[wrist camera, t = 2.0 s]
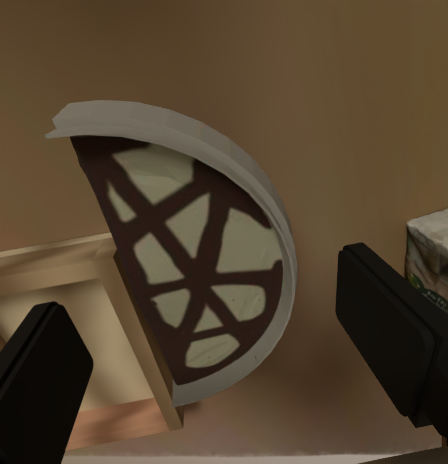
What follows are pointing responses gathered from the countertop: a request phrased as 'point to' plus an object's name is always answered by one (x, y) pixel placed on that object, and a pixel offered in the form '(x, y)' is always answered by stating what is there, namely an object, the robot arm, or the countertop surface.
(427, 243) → the juice carton
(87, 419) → the wooden tray
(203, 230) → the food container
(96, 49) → the countertop surface
